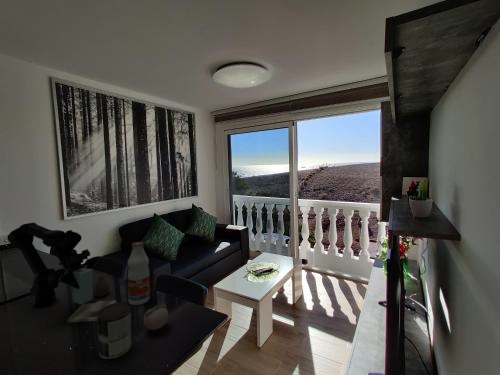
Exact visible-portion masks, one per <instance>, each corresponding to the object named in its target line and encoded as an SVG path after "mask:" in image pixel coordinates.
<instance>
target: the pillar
mask: <svg viewBox="0 0 500 375" xmlns="http://www.w3.org/2000/svg"><path fill="white" fill-rule="evenodd" d="M73 277H74V279H75V280H76V282H77V283H78V285H79V287H80V288H79V289H76V288H74V287H72V302H73V303H76V304H79V305H83V304H86V303H88V302H89V301H91V300H93V299H94V296H93V295H94V291H93V288H94V283H93V268H91V269H88V268H80V269H79V270H76V271H74V272H73Z"/></svg>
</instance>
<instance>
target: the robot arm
mask: <svg viewBox="0 0 500 375" xmlns="http://www.w3.org/2000/svg"><path fill="white" fill-rule="evenodd" d="M6 238H7V241H8V243H9V244H10V245H11V246H12V247H14V248H15V249H18V250H20V252H21V254H22V255H23V257H24V259H25V261H26V263H27V265H28V267H30V269H31V271H32V273H33V275H34V277H33V280H32V282H33V285H32V286H31V288H30V289H29V291H30V294H31V295H34V296H35V299H34V300H35V304H34V305H33V306H32V307H33V308H43V307H45V308H47V307H50V306H51V305H52V304H53V303H54V302H56V301H57V300H58V298H57V297H56V291H55V289H57V288H58V287H59V283H63V284H66V285H68V286H71V287H72V288H73V287H74V288H76V289H79V288H80V287H79V285H78V283H77V282H76V280H75V279H74V277H73V272H74V271H76V270H79V269H80V268H88V269H93V268H94V267H95V266H96V265H97V264H98V263H99V261H100V260H99V258H98V257H97V256H93V257H90V256H91V252H90V250H89V249H88V248H86V249H84V250H82V251H81V252H80V253H77V252H74V251H73V250H74V249H75V248H76V247H77V246H78V245H79V243H80V242H81V241H82V235H81V234H79V233H78V232H76V231H73V230H72V229H70V230H67V231H63V230H61V229H60V230H58V229H48V228H47V227H44V226H41V225H39V224H37V223H36V222H29V223H28V222H27V223H23V224H21V225H20V226H19V227H17V228H16V229H14V230H11V232H10V233H9V234H8V235H7V237H6ZM35 238H38V239H40V240H42V244H43V245H45V246H46V247H47V248H51V247H53V248H52V252H51V255H52V256H53V255H55V256H56V258H57V259H58V261H59V263H58V265H59V266H62V267H63V268H59V269H57V270H55V269H54V268H48V267H47V266H46V264H45V262H44V261H43V259H42V256H40V254H39V252H38V250H37V248H36V247H35V245H34V243H33V242H34V239H35ZM89 257H90V258H89ZM85 260H86V261H85Z"/></svg>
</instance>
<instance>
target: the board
mask: <svg viewBox="0 0 500 375" xmlns="http://www.w3.org/2000/svg"><path fill="white" fill-rule="evenodd" d="M114 303H119V302H117V300H115V299H114V300H98V301H96V302H92V303H90V302H89V303H88V302H87V303H83V304H81V305H80V306H79V307H78V308H77V309H76V310H75V312H74V313H73V314H71V315H70V316H69V317H68V318H67V320H66V322H67V323H85V322H98V318H97V314H98V312H99V311H100V310H101V309H102V308H104V307H105V306H108V305H110V304H114Z"/></svg>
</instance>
